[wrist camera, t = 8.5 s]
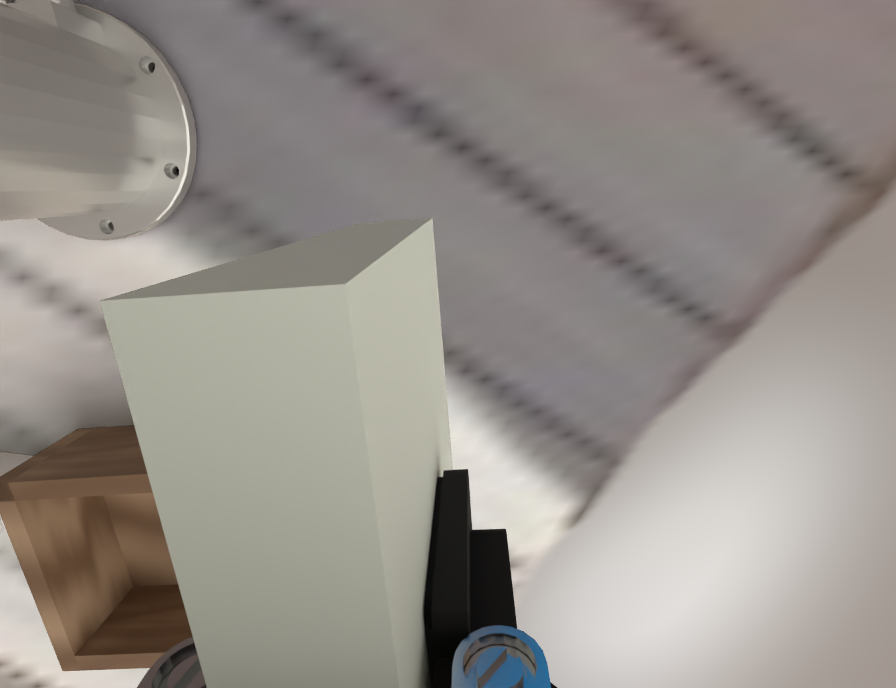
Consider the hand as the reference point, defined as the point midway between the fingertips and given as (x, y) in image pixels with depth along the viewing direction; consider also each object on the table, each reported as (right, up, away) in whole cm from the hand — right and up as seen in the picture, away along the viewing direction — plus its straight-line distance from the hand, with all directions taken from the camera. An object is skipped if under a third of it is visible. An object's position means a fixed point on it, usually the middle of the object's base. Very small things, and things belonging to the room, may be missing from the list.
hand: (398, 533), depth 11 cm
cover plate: (0, +1, +4) cm, 4 cm away
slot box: (-18, -8, +26) cm, 33 cm away
